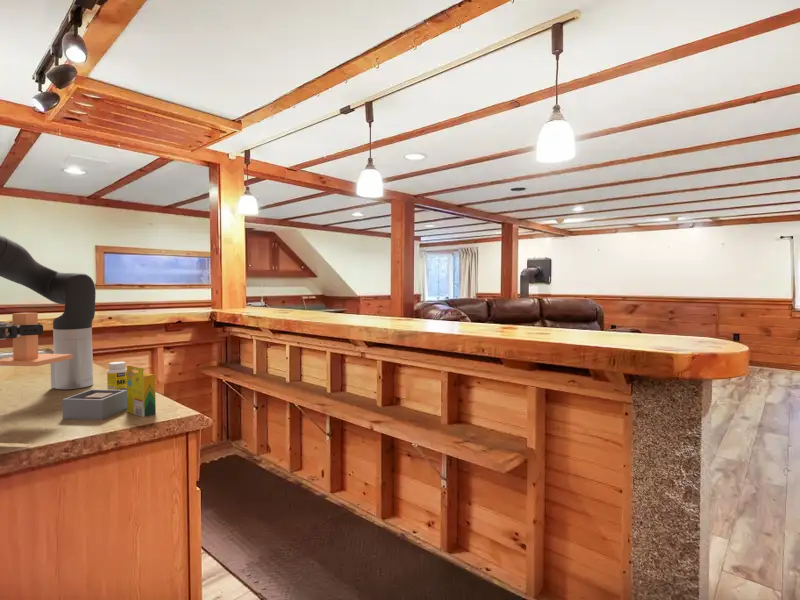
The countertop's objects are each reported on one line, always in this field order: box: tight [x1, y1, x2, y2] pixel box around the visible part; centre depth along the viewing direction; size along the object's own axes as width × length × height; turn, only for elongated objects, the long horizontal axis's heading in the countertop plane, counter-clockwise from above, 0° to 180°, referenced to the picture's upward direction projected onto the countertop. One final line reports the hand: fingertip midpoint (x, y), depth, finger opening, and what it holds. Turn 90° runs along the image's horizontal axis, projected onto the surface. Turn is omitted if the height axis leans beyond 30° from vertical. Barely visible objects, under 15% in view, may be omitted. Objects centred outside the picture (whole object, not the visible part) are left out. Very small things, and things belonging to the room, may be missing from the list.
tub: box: [61, 388, 127, 421], centre depth 105 cm, size 9×9×5 cm
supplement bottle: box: [106, 361, 127, 390], centre depth 126 cm, size 5×5×8 cm
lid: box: [0, 312, 73, 367], centre depth 100 cm, size 10×10×11 cm
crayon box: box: [126, 365, 157, 418], centre depth 106 cm, size 7×3×12 cm, turn 58°
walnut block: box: [85, 393, 113, 399], centre depth 106 cm, size 4×4×4 cm
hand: (41, 328), depth 100 cm, fingers closed on lid, 4 cm apart
